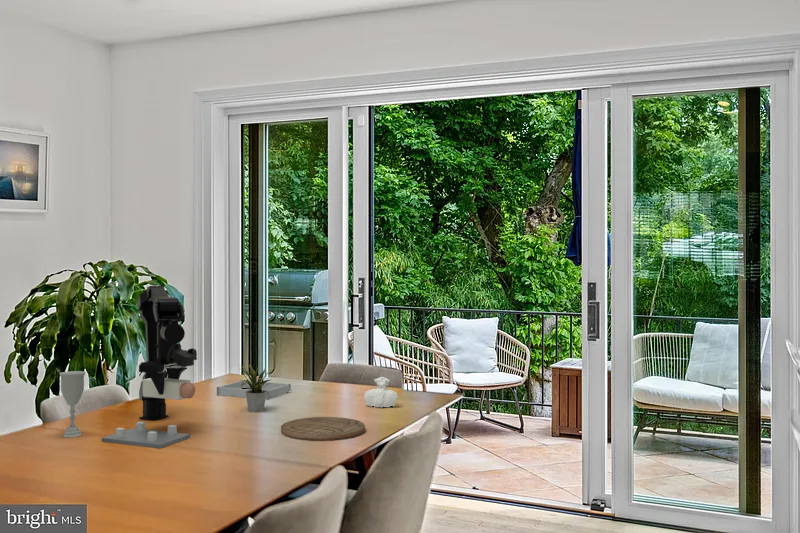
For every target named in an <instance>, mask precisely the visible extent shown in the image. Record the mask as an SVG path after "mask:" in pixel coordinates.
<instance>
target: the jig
mask: <svg viewBox="0 0 800 533" xmlns="http://www.w3.org/2000/svg"><path fill="white" fill-rule="evenodd" d="M146 424H147V423H146V421H138V422H136V428H135V427H132V428H130V429H126V428H124V427H117V428H115V429H114V430H115V433H112V434H109V435H107V436H103V437H101V442H104V443H112V444H113V443H114V444H120V445H129V446H136V447H144V448H145V447H147V448H153V449H154V448H155V449H163V448H165V447H168V446H170V445H174V444H176V443H180V442H182V441H186V440H188V439H190V438H191V434H190V433H181V432H178V425H176V424H170V425H167V431H165V430H163V431H162V430H155V429H147V428H146Z"/></svg>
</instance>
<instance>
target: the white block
mask: <svg viewBox="0 0 800 533" xmlns="http://www.w3.org/2000/svg"><path fill="white" fill-rule="evenodd" d="M142 381H143V396H145V397H154V398H164V399H165V400H166V399H167V400H172V401H174V400H175V401H182V400H184V399H185V400H186V399H192V398H193V397H194V396H195V394H196V386H195V384H194V383H192V380H190V379H180V378H179V379H169V378H168V377H167V378H165V379H164V391H163V395H159V393H158V391H157V389H156V387H155V385H154V383H153V381H152V380H151V378H148V379H143V380H142Z"/></svg>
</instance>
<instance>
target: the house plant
mask: <svg viewBox="0 0 800 533" xmlns="http://www.w3.org/2000/svg"><path fill="white" fill-rule="evenodd" d="M259 364H260V363H258V364H257V368H256V369H255V370H254V369H253V365H251V364H249V368H250V371H248V369H247V368H245V367H244V366H242V365H239V367H242V368H243V369H242V368H240V370H241V371H240V373H241V374H242V375H243V376H244V378H245V379H244V380H243V381H245V382H247V383H243V382H242V384H241V386H242V385H245V384H248V385H249V386H250V388H251V390H250V389H249V390H250V391H246V404H247V410H248V411H249V412H254V413H255V412H262V411H264V410H265V404H266V400H267V399H266V393H267V390H266V391H265V390H262V387H263V386H264V384H265V383H266V382H270V383H271V379H266V380H264V379H265V378H266V376H267V375H268V374H269V373H270V372H271V371H273V369H276V367H277V366H276V367H273V368H271V369H270V370H269V371H267V370H266V367H265V368H264V369H263V370H262V372H260V374H259V375H258V369H259V367H260V365H259ZM266 371H267V373H266V374H265V372H266ZM243 372H244V373H245V374H246V375H245V374H244V373H243ZM247 377H248V378H247ZM238 381H239V382H240V381H241V380H238ZM250 381H251V382H252V384H251V383H250ZM260 382H261V383H260ZM270 383H268V384H270ZM268 384H267V385H268ZM263 389H264V388H263Z"/></svg>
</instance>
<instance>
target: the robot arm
mask: <svg viewBox="0 0 800 533" xmlns="http://www.w3.org/2000/svg"><path fill="white" fill-rule="evenodd" d="M136 304H137V306H136V307H137V311H139V318H140V319H141V320H142V322H143V323H144V325H145V343H146V344H145V347H146V348H145V349H146V361H143V362H142V361H141V363H139V365H138V373H143V376H142V379H141V382H140V386H139V391H138V396H139V397H138V398H139V400H141V401H142V416H139V420H141V419H142V420H148V421H149V420H151V421H152V420H153V421H157V420H161V419H164V418H167V417H169V414H167V403H166V399H164V398H154V397H145V396H143V379H148V378H151V380H152V381H153V383H154V385H155V387H156V389H157V391H158V393H159V395H163V391H164V379H165V378H169V379H180V377H181V374H183V372H184V371H186V370H187V369H188V367H191V366H194V365H195V361H197V359H198V358H197V354H198V353H197V349H196V348H192V347H191V348H188V349H182V345H181V342H182V341H183V339H184V338H185V336H186V333H185V328H184V327H183V326H182V325H181V324H179V322H184V321H185V317H186V315H185V311H184V310H185V309H184V307H183V305H182V302H181V301H180V300H179V298H178V297H175V296H170V295H169V294H168V293H167V291H166V289H165V287H164V286H163V285H149V286H147V288H146V289H145V290H144V291H143V292H142V293H140V294H139V296H138V299H137V303H136Z"/></svg>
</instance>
